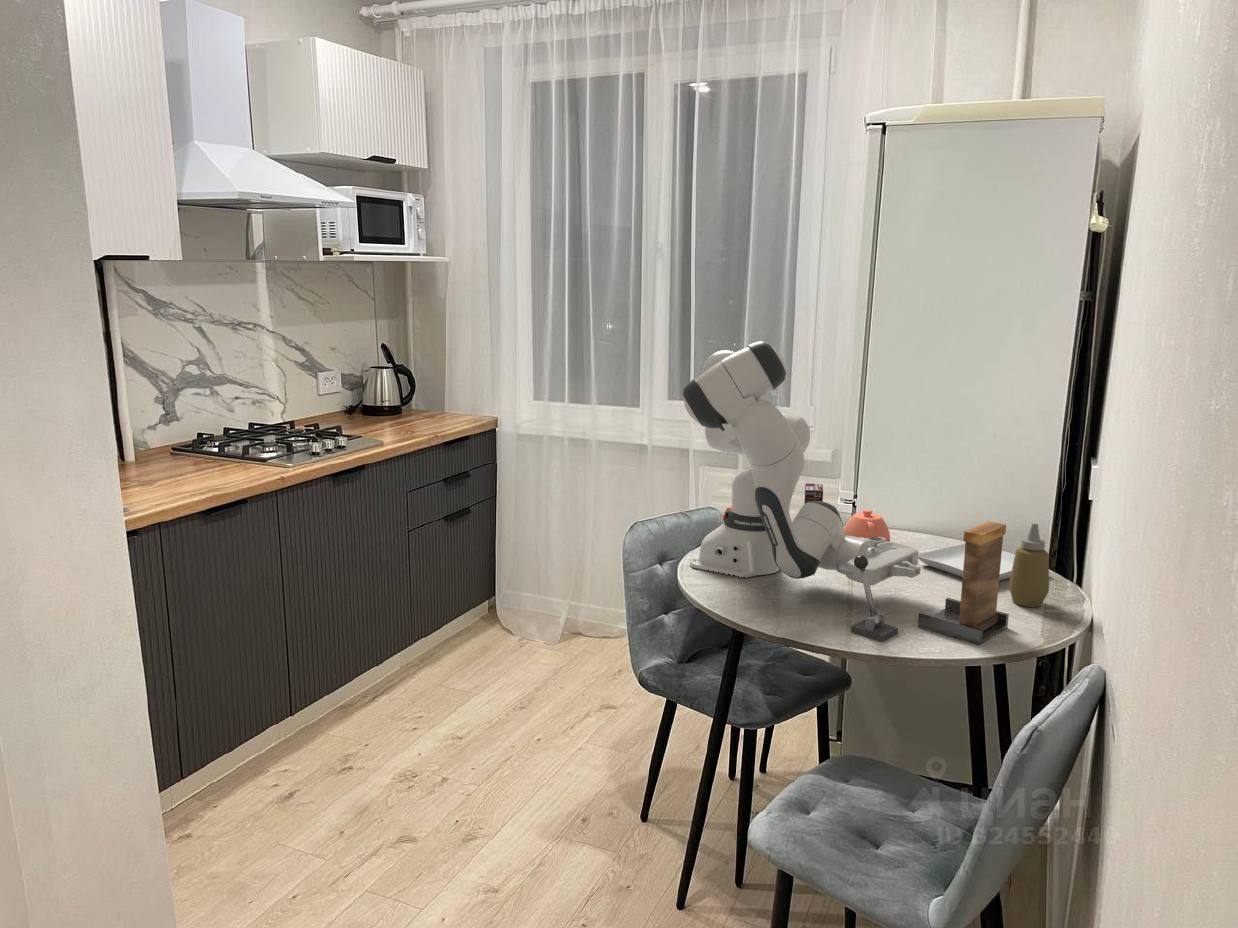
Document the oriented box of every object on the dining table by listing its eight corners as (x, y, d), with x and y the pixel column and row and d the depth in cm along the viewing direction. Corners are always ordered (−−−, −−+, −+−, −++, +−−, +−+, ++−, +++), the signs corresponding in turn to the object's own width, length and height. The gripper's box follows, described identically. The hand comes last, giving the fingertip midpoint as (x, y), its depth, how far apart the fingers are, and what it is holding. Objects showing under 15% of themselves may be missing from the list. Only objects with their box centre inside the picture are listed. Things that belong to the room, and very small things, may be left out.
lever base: (850, 631, 179) (851, 614, 178) (866, 623, 183) (867, 607, 182) (881, 641, 174) (883, 624, 173) (897, 633, 178) (898, 616, 178)
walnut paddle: (955, 630, 177) (963, 531, 173) (979, 616, 184) (987, 520, 180) (974, 636, 174) (983, 535, 170) (998, 621, 181) (1007, 524, 177)
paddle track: (917, 626, 182) (918, 612, 181) (946, 610, 190) (948, 597, 190) (979, 645, 172) (980, 630, 172) (1007, 627, 181) (1008, 613, 180)
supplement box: (820, 549, 233) (823, 491, 230) (802, 548, 234) (804, 490, 231) (820, 540, 241) (822, 483, 238) (802, 539, 242) (804, 482, 239)
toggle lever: (866, 627, 178) (849, 557, 179) (873, 623, 180) (857, 554, 181) (878, 626, 176) (861, 556, 177) (885, 623, 178) (869, 553, 179)
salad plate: (913, 566, 221) (914, 552, 220) (970, 552, 231) (971, 540, 230) (985, 591, 203) (986, 577, 202) (1044, 576, 213) (1045, 562, 212)
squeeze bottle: (1002, 604, 194) (1009, 524, 190) (1013, 594, 200) (1020, 517, 196) (1041, 612, 189) (1049, 531, 185) (1052, 602, 195) (1060, 523, 191)
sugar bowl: (885, 541, 240) (887, 505, 238) (894, 557, 227) (897, 518, 225) (839, 540, 242) (840, 503, 240) (845, 555, 228) (847, 517, 226)
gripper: (833, 554, 189) (892, 569, 180) (883, 535, 203) (940, 548, 194) (832, 582, 191) (890, 599, 181) (882, 561, 205) (938, 575, 195)
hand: (917, 572), depth 187 cm, fingers closed
